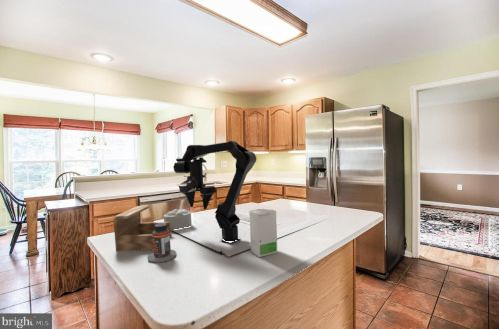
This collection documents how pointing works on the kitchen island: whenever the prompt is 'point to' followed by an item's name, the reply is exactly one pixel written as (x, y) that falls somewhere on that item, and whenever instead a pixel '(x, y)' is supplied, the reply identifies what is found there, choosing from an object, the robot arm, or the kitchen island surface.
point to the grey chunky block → (178, 219)
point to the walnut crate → (134, 231)
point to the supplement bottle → (161, 240)
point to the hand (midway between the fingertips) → (198, 208)
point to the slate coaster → (154, 259)
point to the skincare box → (263, 232)
